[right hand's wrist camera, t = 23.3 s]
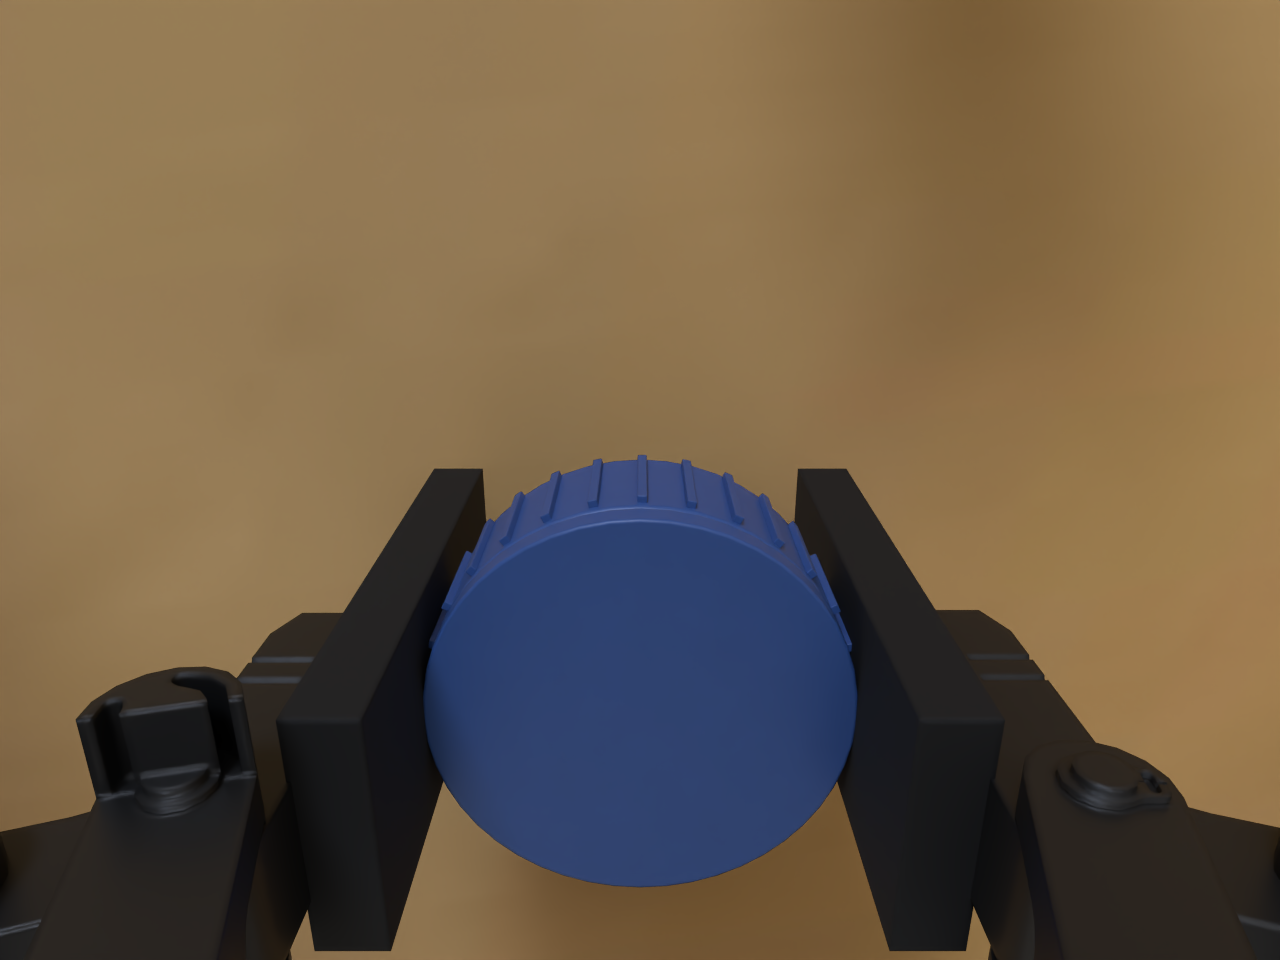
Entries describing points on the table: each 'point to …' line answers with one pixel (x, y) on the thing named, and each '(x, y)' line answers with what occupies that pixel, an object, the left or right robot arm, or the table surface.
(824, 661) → the lid
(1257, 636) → the table surface
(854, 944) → the table surface
